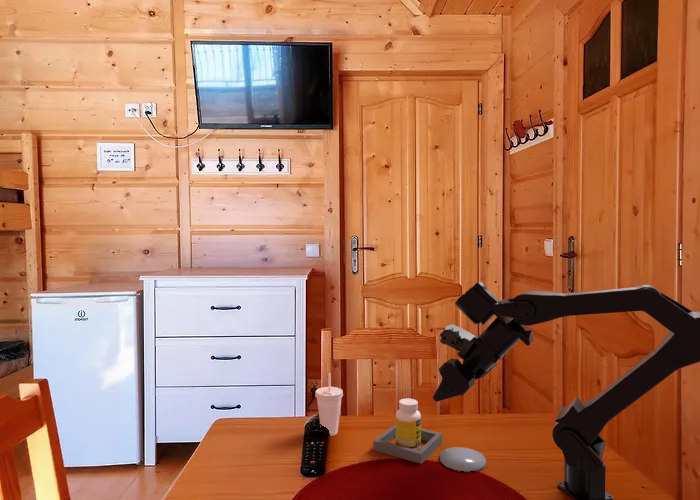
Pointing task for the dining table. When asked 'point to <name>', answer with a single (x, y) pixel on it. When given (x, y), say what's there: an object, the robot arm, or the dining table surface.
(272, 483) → the dining table surface
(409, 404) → the supplement bottle
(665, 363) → the robot arm
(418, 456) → the frame
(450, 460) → the coaster
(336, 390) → the smoothie
